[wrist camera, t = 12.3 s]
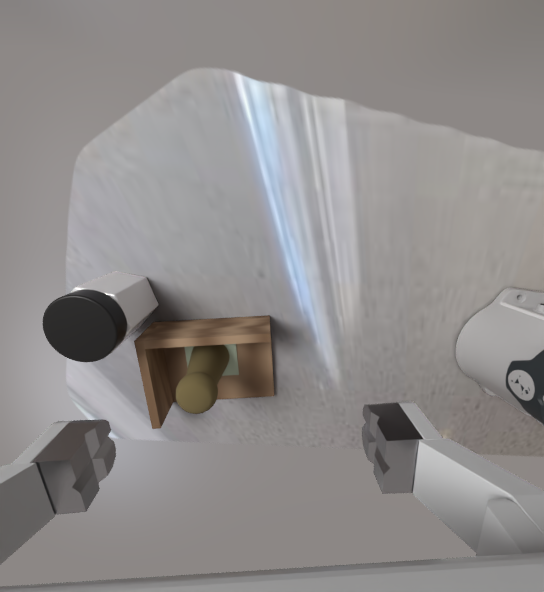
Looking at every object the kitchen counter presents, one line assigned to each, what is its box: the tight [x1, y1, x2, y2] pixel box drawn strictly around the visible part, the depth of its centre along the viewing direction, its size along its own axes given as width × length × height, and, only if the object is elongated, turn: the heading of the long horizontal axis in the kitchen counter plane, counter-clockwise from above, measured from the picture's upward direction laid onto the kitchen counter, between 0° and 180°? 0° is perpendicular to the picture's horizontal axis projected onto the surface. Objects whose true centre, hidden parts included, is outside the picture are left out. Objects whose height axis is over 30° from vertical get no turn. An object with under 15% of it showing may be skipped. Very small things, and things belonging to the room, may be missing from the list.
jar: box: [43, 271, 158, 362], centre depth 37 cm, size 9×8×12 cm
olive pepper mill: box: [176, 345, 230, 414], centre depth 40 cm, size 6×6×11 cm
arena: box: [134, 316, 274, 429], centre depth 43 cm, size 18×14×7 cm
